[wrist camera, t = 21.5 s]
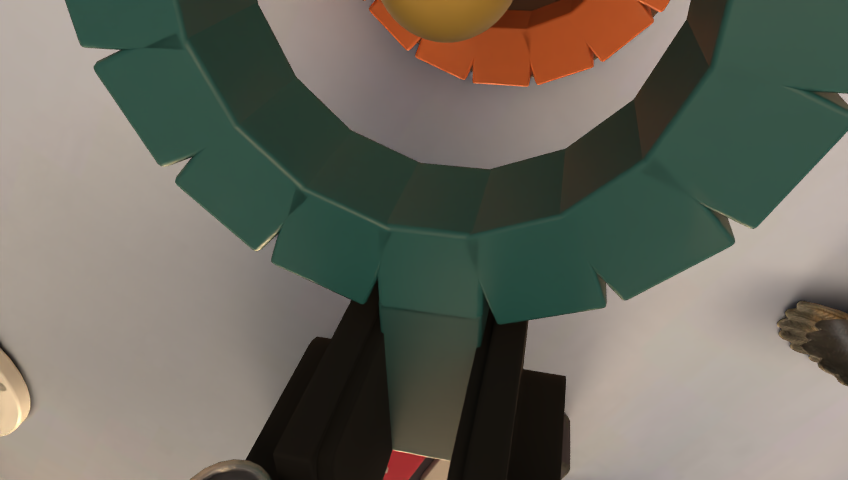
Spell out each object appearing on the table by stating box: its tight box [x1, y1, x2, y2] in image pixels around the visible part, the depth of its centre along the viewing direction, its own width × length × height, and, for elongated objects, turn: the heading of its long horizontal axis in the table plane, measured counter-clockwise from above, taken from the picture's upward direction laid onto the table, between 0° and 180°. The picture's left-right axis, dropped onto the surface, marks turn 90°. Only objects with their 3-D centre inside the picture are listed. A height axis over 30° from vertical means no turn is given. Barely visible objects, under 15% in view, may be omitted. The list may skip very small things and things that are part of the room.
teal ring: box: [65, 0, 848, 461], centre depth 8 cm, size 13×9×2 cm
